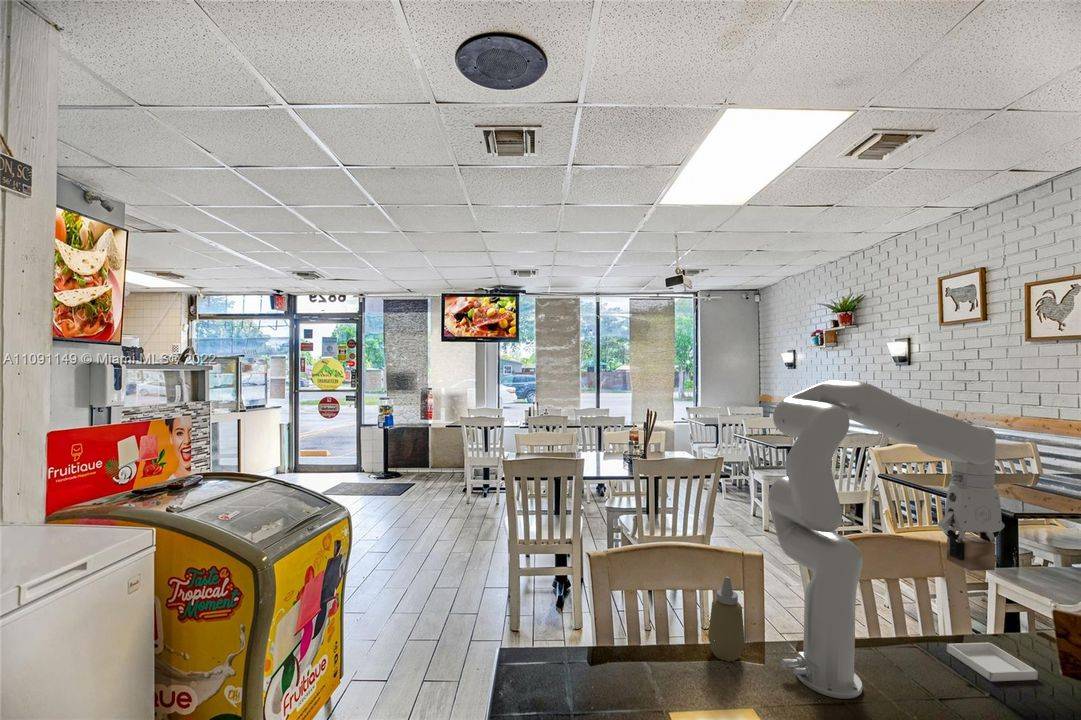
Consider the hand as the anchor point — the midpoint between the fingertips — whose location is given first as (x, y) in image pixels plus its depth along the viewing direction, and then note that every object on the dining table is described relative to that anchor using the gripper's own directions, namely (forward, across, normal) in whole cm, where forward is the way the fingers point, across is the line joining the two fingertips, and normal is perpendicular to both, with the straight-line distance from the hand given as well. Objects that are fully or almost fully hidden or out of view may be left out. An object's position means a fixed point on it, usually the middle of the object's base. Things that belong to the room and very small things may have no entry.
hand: (970, 557), depth 118 cm
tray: (+23, +2, -4) cm, 24 cm away
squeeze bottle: (+24, -56, +4) cm, 61 cm away
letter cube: (+2, 0, 0) cm, 2 cm away
